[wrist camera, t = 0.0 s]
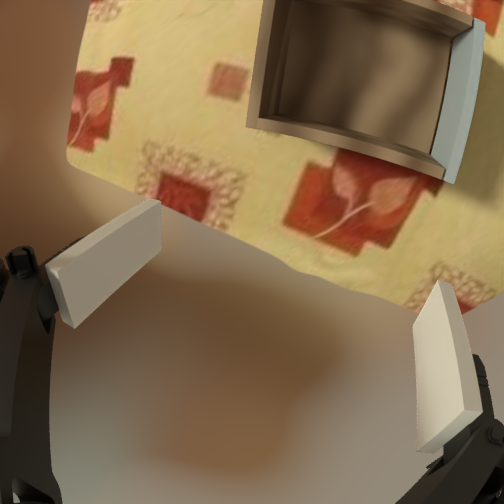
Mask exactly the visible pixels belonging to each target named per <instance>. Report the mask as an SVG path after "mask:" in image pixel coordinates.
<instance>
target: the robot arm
mask: <svg viewBox="0 0 504 504" xmlns="http://www.w3.org/2000/svg"><path fill="white" fill-rule="evenodd" d="M161 250H162V235H161V201H158V200H154V199H150V198H148V199H146V200H144V201H143V202H141V203H139V204H138V205H136V206H134V207H132V208H131V209H129V210H128V211H126V212H124V213H122V214H121V215H119V216H118V217H116V218H114V219H113V220H111V221H110V222H108V223H106V224H105V225H103V226H102V227H100V228H98V229H97V230H96V231H94V232H92V233H91V234H89V235H87V236H85V237H82V238H79V239H77V240H75V241H74V242H72V243H71V244H69V246H66V247H65V248H64V249H62V251H59V252H58V253H56V254H55V255H53V256H52V257H50V258H49V259H48V260H46V261H45V262H43V263H42V264H41V265H39V266H38V264H37V260H36V256H35V252H34V250H33V248H32V247H30V246H20V247H17V248H14V249H12V250H11V251H10V252H8V253H7V255H6V256H5V258H6V261H7V264H8V267H9V270H7V269H6V267H5V264H4V261H3V260H2V259H0V504H62V498H61V492H60V488H59V485H58V483H57V481H56V479H55V477H54V475H53V473H52V467H51V454H50V437H49V436H50V433H49V394H50V373H51V360H52V349H53V339H54V331H55V323H56V319H55V316H54V314H55V313H56V312H57V311H58V310H59V312H60V315H61V317H62V320H63V321H64V322H65V323H67V324H68V325H70V326H72V327H73V328H76V327H77V326H78V325H79V324H80V323H81V322H82V321H83V320H84V319H86V318H87V317H88V316H89V315H90V314H91V313H92V312H93V311H94V310H95V309H96V308H97V307H98V306H99V305H100V304H102V303H103V302H104V301H105V300H106V299H107V298H108V297H109V296H110V295H111V294H112V293H113V292H115V291H116V290H117V289H118V288H119V287H120V286H121V285H122V284H123V283H125V282H126V281H127V280H128V279H129V278H130V277H131V276H132V275H134V274H135V273H136V272H137V271H138V270H139V269H140V268H141V267H143V266H144V265H145V264H146V263H147V262H148V261H149V260H151V259H152V258H153V257H154V256H155V255H156V254H158V253H159V252H160V251H161ZM413 337H414V348H415V363H416V381H417V382H416V385H417V436H416V452H425V453H435V452H436V451H437V450H439V449H440V448H441V447H443V446H444V453H443V455H442V456H441V457H440V458H438V459H437V460H435V461H434V462H432V463H431V464H430V465H428V466H427V467H426V468H427V469H428V468H430V467H431V468H430V469H429V470H428V471H427V472H426V473H425V474H424V475H423V476H422V477H421V479H419V481H418V482H417V483H416V484H415V485H414V486H413V487H412V488H411V489H410V490H409V491H408V492H407V493H406V494H405V495H404V496H403V497H402V498H401V499H400V500H398V501H397V502H396V503H395V504H504V426H503V424H502V423H501V422H500V421H498V420H497V419H494V413H493V407H492V401H491V395H490V390H489V388H488V380H487V379H486V377H487V376H486V371H485V367H484V365H483V363H482V361H481V359H480V358H479V356H478V355H475V354H472V352H471V348H470V344H469V340H468V336H467V333H466V329H465V325H464V322H463V319H462V315H461V312H460V308H459V305H458V302H457V299H456V296H455V293H454V290H453V287H452V284H449V283H446V282H443V281H440V280H437V282H436V284H435V286H434V288H433V290H432V292H431V294H430V296H429V297H428V299H427V301H426V303H425V305H424V307H423V309H422V310H421V312H420V314H419V316H418V318H417V319H416V321H415V323H414V324H413ZM501 490H502V491H501ZM13 492H14V493H15V494H16V495H17V496H18V498H19V500H20V503H14V502H13ZM500 492H501V493H500ZM499 495H500V496H499Z"/></svg>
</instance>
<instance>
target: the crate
mask: <svg viewBox="0 0 504 504" xmlns="http://www.w3.org/2000/svg"><path fill="white" fill-rule="evenodd" d="M471 26H472V16H470V15H468V14H466V13H463V12H461V11H459V10H456V9H454V8H451V7H449V6H446V5H444V4H441V3H439V2H436V1H433V0H263V7H262V13H261V20H260V27H259V33H258V40H257V47H256V54H255V61H254V68H253V75H252V83H251V90H250V97H249V105H248V113H247V120H246V127H247V128H253V129H259V130H264V131H270V132H275V133H280V134H285V135H289V136H294V137H299V138H303V139H308V140H312V141H316V142H320V143H325V144H329V145H333V146H337V147H340V148H344V149H348V150H352V151H355V152H359V153H362V154H366V155H369V156H373V157H376V158H379V159H383V160H386V161H389V162H392V163H395V164H398V165H402V166H405V167H408V168H410V169H413V170H416V171H419V172H422V173H425V174H428V175H430V176H433V177H436V178H438V179H442V176H443V173H444V170H445V168H444V167H443V166H442V165H440V164H439V163H438V162H437V161H436V160H435V159H434V158H433V157H432V156H430V155H429V151H430V147H431V143H432V139H433V135H434V131H435V127H436V123H437V118H438V114H439V109H440V104H441V100H442V94H443V89H444V84H445V78H446V72H447V65H448V58H449V51H450V43H451V38H453V37H455V36H456V35H458V34H460V33H461V32H463V31H465V30H466V29H468V28H470V27H471Z"/></svg>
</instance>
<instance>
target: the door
mask: <svg viewBox="0 0 504 504" xmlns="http://www.w3.org/2000/svg"><path fill="white" fill-rule="evenodd" d="M484 36H485V22H483V21H481V20H479V19H476V18H474V19H472V26H471V27H470V28H468V29H466V30H465V31H463V32H461V33H460V34H458V35H456V36H455V37H453V46H452V54H451V61H450V68H449V74H448V80H447V86H446V91H445V96H444V101H443V106H442V111H441V116H440V120H439V124H438V129H437V133H436V137H435V141H434V145H433V149H432V152H431V156H432V157H433V158H434V159H435V160H436V161H437V162H438V163H439V164H440V165H442V166H443V167H444V168H445V170H444V173H443V176H442V179H443V180H444V181H446V182H449V183H452V184H454V183H455V180H456V176H457V173H458V170H459V167H460V163H461V160H462V156H463V153H464V149H465V145H466V141H467V137H468V133H469V129H470V125H471V121H472V116H473V111H474V107H475V102H476V96H477V91H478V85H479V79H480V72H481V65H482V57H483V48H484Z"/></svg>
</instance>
